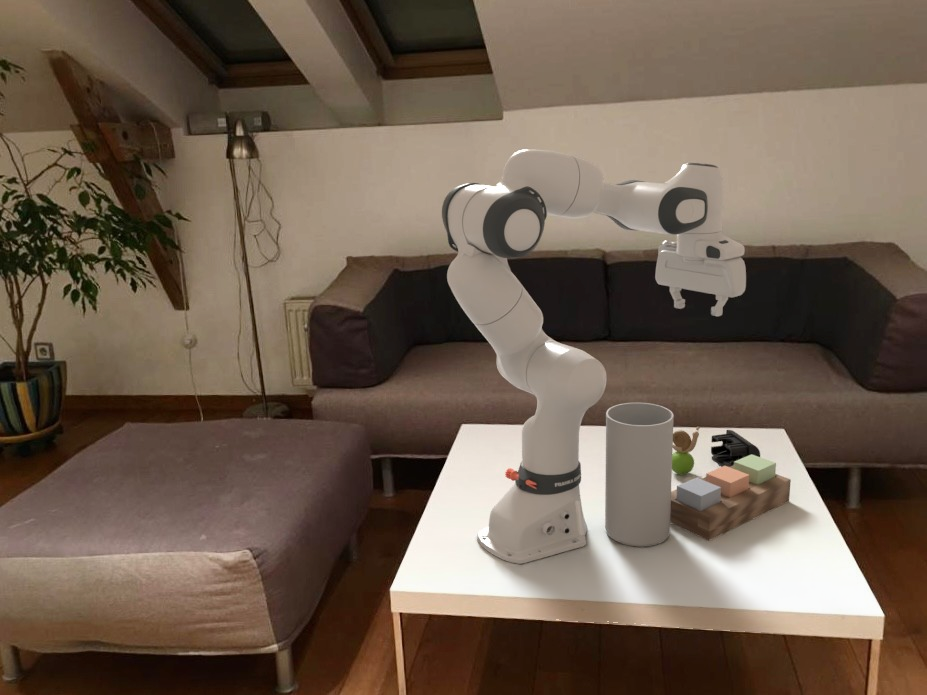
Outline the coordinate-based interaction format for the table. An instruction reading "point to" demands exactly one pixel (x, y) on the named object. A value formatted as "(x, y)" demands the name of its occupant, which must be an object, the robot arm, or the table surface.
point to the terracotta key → (729, 480)
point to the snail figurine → (683, 451)
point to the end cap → (731, 448)
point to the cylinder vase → (638, 473)
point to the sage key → (756, 468)
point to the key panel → (730, 508)
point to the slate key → (698, 494)
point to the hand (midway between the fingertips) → (697, 311)
